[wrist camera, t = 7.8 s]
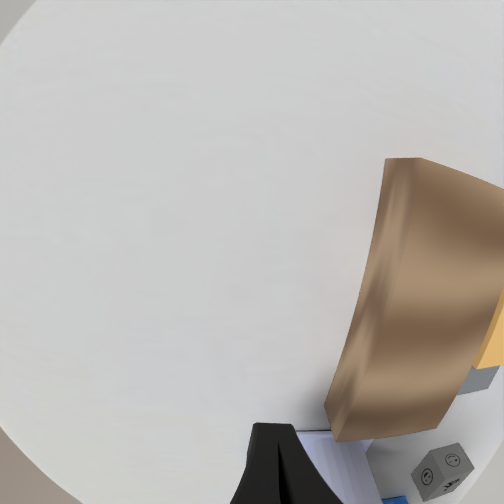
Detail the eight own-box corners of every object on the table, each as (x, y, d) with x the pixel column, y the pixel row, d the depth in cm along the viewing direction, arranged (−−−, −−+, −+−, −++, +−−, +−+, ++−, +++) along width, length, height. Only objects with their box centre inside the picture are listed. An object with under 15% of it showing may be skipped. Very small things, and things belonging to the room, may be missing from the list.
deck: (417, 398, 21) (436, 428, 17) (324, 405, 21) (335, 442, 17) (485, 190, 16) (523, 198, 12) (385, 158, 16) (420, 157, 12)
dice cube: (458, 442, 24) (474, 468, 19) (439, 465, 25) (453, 491, 21) (429, 450, 24) (445, 479, 19) (410, 473, 25) (423, 501, 20)
